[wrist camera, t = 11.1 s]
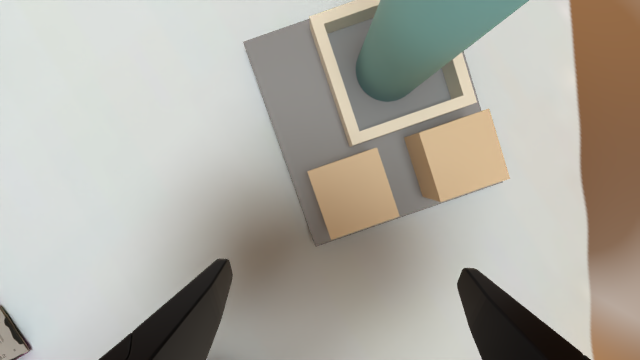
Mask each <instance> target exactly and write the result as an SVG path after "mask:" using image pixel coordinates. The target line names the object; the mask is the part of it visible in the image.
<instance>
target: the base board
mask: <svg viewBox="0 0 640 360" xmlns="http://www.w3.org/2000/svg"><path fill="white" fill-rule="evenodd" d="M379 2H380V0H355V1H352V2H349V3H347V4H344V5H341V6H338V7H335V8H332V9H329V10H326V11H324V12H321V13H318V14H315V15H312V16H309V19H307V20H305V21H302V22H299V23H296V24H293V25H290V26H287V27H285V28H282V29H279V30H276V31H273V32H270V33H267V34H264V35H262V36H259V37H256V38H253V39H250V40H247V41H244V42H243V43H244V46H245V49H246V51H247V54H248V57H249V60H250V63H251V66H252V68H253V71H254V74H255V77H256V80H257V83H258V85H259V88H260V91H261V94H262V97H263V100H264V102H265V105H266V108H267V111H268V114H269V116H270V119H271V122H272V125H273V128H274V131H275V133H276V136H277V139H278V142H279V145H280V148H281V150H282V153H283V156H284V159H285V162H286V165H287V167H288V170H289V173H290V176H291V179H292V182H293V184H294V187H295V190H296V193H297V196H298V199H299V201H300V204H301V207H302V210H303V213H304V215H305V218H306V221H307V224H308V227H309V230H310V232H311V235H312V238H313V241H314V244H315V247H316V246H319V245H322V244H325V243H328V242H331V241H333V240H336V239H339V238H342V237H345V236H348V235H351V234H354V233H357V232H360V231H362V230H365V229H368V228H371V227H374V226H377V225H380V224H383V223H386V222H389V221H391V220H394V219H397V218H400V217H403V216H406V215H409V214H412V213H415V212H418V211H420V210H423V209H426V208H429V207H432V206H435V205H438V204H441V203H444V202H447V201H449V200H452V199H455V198H458V197H461V196H464V195H467V194H470V193H473V192H475V191H478V190H481V189H484V188H487V187H490V186H493V185H496V184H499V183H502V182H503V181H504V180H507V179H510V177H509V174H508V170H507V167H506V164H505V160H504V157H503V154H502V150H501V147H500V144H499V140H498V137H497V134H496V130H495V127H494V124H493V120H492V117H491V113H490V110H489V109H486V110H483V111H481V108H480V105H479V101H478V98H477V95H476V91H475V88H474V85H473V81H472V78H471V75H470V71H469V68H468V65H467V61H466V58H465V55H464V51H463V52H462V53H460V54H459V55H458V56H456V57H455V58H454V59H452V60H451V61H450V62H449V63H447V64H446V65H445V66H443V67H442V68H441V69H440V70H438V71H437V72H436V73H434V74H433V75H432V76H431V77H429V78H428V79H427V80H425V81H424V82H423V83H421V84H420V85H419V86H418V87H416V88H415V89H414V90H412V91H411V92H410V93H409V94H407V95H406V96H405V97H403V98H401V99H399V100H396V101H390V102H384V101H379V100H376V99H374V98H372V97H370V96H369V95H368V94H366V93H365V92H364V91H363V89H362V88H361V86H360V84H359V82H358V80H357V76H356V62H357V59H358V56H359V53H360V51H361V48H362V46H363V43H364V41H365V38H366V36H367V33H368V30H369V28H370V25H371V23H372V20H373V18H374V15H375V13H376V10H377V7H378V5H379Z"/></svg>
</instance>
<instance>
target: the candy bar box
mask: <svg viewBox="0 0 640 360" xmlns="http://www.w3.org/2000/svg"><path fill="white" fill-rule="evenodd" d="M28 352H29V348H28V346H27V344H26V343H25V342H24V340H23V338H22V337H21V336H20V334H19V333H18V331H17V330H16V328H15V326H14V324H13V323H12V322H11V320H10V319H9V317H8V315H7V314H6V313H5V312H4V311H3V309H2V308H1V307H0V360H16V359H18V358H19V357H21V356H23V355H24V354H26V353H28Z"/></svg>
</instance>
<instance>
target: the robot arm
mask: <svg viewBox="0 0 640 360" xmlns="http://www.w3.org/2000/svg"><path fill="white" fill-rule="evenodd" d="M232 276H233V274H232V269H231V265H230V261H229V260H228V259H217V260H216V261H215V262H213V263H212V264H211V265H210V266H209V267H208V268H206V269H205V270H204V271H203V272H202V273H201V274H199V275H198V276H197V277H196V278H195V279H194V280H192V281H191V282H190V283H189V284H188V285H186V286H185V287H184V288H183V289H182V290H181V291H179V292H178V293H177V294H176V295H175V296H174V297H172V298H171V299H170V300H169V301H168V302H167V303H165V304H164V305H163V306H162V307H161V308H159V309H158V310H157V311H156V312H155V313H154V314H152V315H151V316H150V317H149V318H148V319H147V320H145V321H144V322H143V323H142V324H141V325H140V326H138V327H137V328H136V329H135V330H134V331H133V333H130V334H129V335H128V336H126V337H125V338H124V339H123V340H122V341H121V342H119V343H118V344H117V345H116V346H115V347H113V348H112V349H111V350H110V351H108V352H107V353H106V354H105V355H104V356H102V357H101V358H100V359H99V360H206V358H207V356H208V353H209V350H210V348H211V345H212V343H213V340H214V337H215V335H216V332H217V329H218V327H219V324H220V321H221V318H222V315H223V312H224V308H225V304H226V300H227V297H228V293H229V289H230V285H231V282H232ZM457 288H458V291H459V295H460V298H461V301H462V305H463V308H464V311H465V315H466V318H467V322H468V325H469V328H470V331H471V333H472V336H473V338H474V341H475V343H476V346H477V348H478V350H479V353H480V355H481V358H482V360H590V359H589V358H588V357H587V356H585V355H583V354H582V352H580V351H579V350H578V349H577V348H575V347H574V346H573V345H571V344H570V343H569V342H568V341H566V340H565V339H564V338H563V337H561V336H560V335H559V334H558V333H556V332H555V331H554V330H553V329H551V328H550V327H549V326H548V325H546V324H545V323H544V322H542V321H541V320H540V319H539V318H537V317H536V316H535V315H534V314H532V313H531V312H530V311H529V310H527V309H526V308H525V307H524V306H522V305H521V304H520V303H519V302H517V301H516V300H515V299H514V298H512V297H511V296H510V295H508V294H507V293H506V292H505V291H503V290H502V289H501V288H500V287H498V286H497V285H496V284H495V283H493V282H492V281H491V280H490V279H488V278H487V277H486V276H485V275H483V274H482V273H481V272H480V271H478V270H477V269H475V268H464V269H463V270H462V272H461V275H460V277H459V280H458V283H457Z"/></svg>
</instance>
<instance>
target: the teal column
mask: <svg viewBox="0 0 640 360" xmlns="http://www.w3.org/2000/svg"><path fill="white" fill-rule="evenodd" d="M528 1H529V0H380V2H379V5H378V7H377V10H376V13H375V15H374V18H373V20H372V23H371V25H370V28H369V30H368V33H367V36H366V38H365V41H364V43H363V46H362V48H361V51H360V53H359V56H358V59H357V62H356V76H357V80H358V82H359V84H360V86H361V88H362V89H363V91H364V92H365V93H366V94H368V95H369V96H370V97H372V98H374V99H376V100H379V101H384V102H390V101H396V100H399V99H401V98H403V97H405V96H406V95H407V94H409V93H410V92H411V91H412V90H414V89H415V88H416V87H418V86H419V85H420V84H421V83H423V82H424V81H425V80H427V79H428V78H429V77H431V76H432V75H433V74H434V73H436V72H437V71H438V70H440V69H441V68H442V67H443V66H445V65H446V64H447V63H449V62H450V61H451V60H452V59H454V58H455V57H456V56H458V55H459V54H460V53H462V52H463V51H464V50H465V49H467V48H468V47H469V46H471V45H472V44H473V43H474V42H476V41H477V40H478V39H480V38H481V37H482V36H484V35H485V34H486V33H487V32H489V31H490V30H491V29H493V28H494V27H495V26H496V25H498V24H499V23H500V22H502V21H503V20H504V19H506V18H507V17H508V16H509V15H511V14H512V13H513V12H515V11H516V10H517V9H518V8H520V7H521V6H522V5H524V4H525V3H526V2H528Z"/></svg>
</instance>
